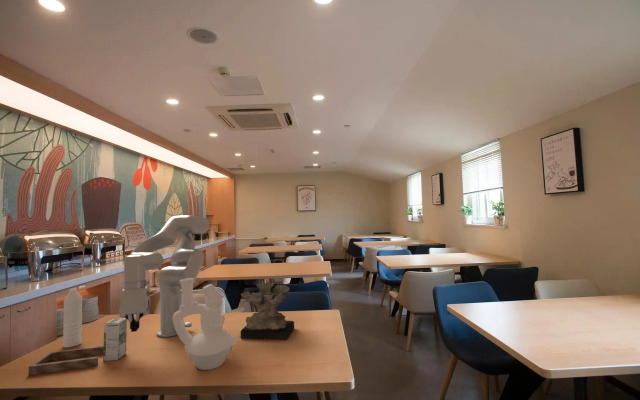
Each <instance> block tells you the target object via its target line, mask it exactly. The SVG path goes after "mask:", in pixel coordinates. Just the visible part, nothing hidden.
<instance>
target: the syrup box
mask: <svg viewBox="0 0 640 400" xmlns="http://www.w3.org/2000/svg"><path fill="white" fill-rule="evenodd" d="M127 325H128V320H127V319H126V318H121V317H118V318H112V319H111V320H109V321H107V322H105V323H104V325H103V346H104V350H103V354H102V355H103V359H102V360H103V361H104V362H106V361H108V362H109V361H117V360H120V359H121V358H122V357H123V356H125V355H127V336H128V335H127V330H128V328H127V327H128V326H127Z"/></svg>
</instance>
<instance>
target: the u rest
mask: <svg viewBox="0 0 640 400" xmlns="http://www.w3.org/2000/svg"><path fill="white" fill-rule="evenodd" d="M103 350H104V345H99V346H98V345H97V346H91V347H89V346H88V347H81V348H73V349H66V350H58V351H57V350H55V351H50V352H48V353H46V354H45V355H43V357H40V358H39V359H38V360H36V361H35V362H33V363H32V364H30V365H29V366H28V376H34V375H40V374H41V375H42V374H48V373H56V372H63V370H64V371H70V370H78V369H84V368H85V369H86V368H93V367H97V366H98V365H99V355H103ZM92 356H93V357H92ZM84 357H85V358H84ZM68 359H69V360H68ZM53 360H54V361H53ZM60 360H61V361H60Z"/></svg>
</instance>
